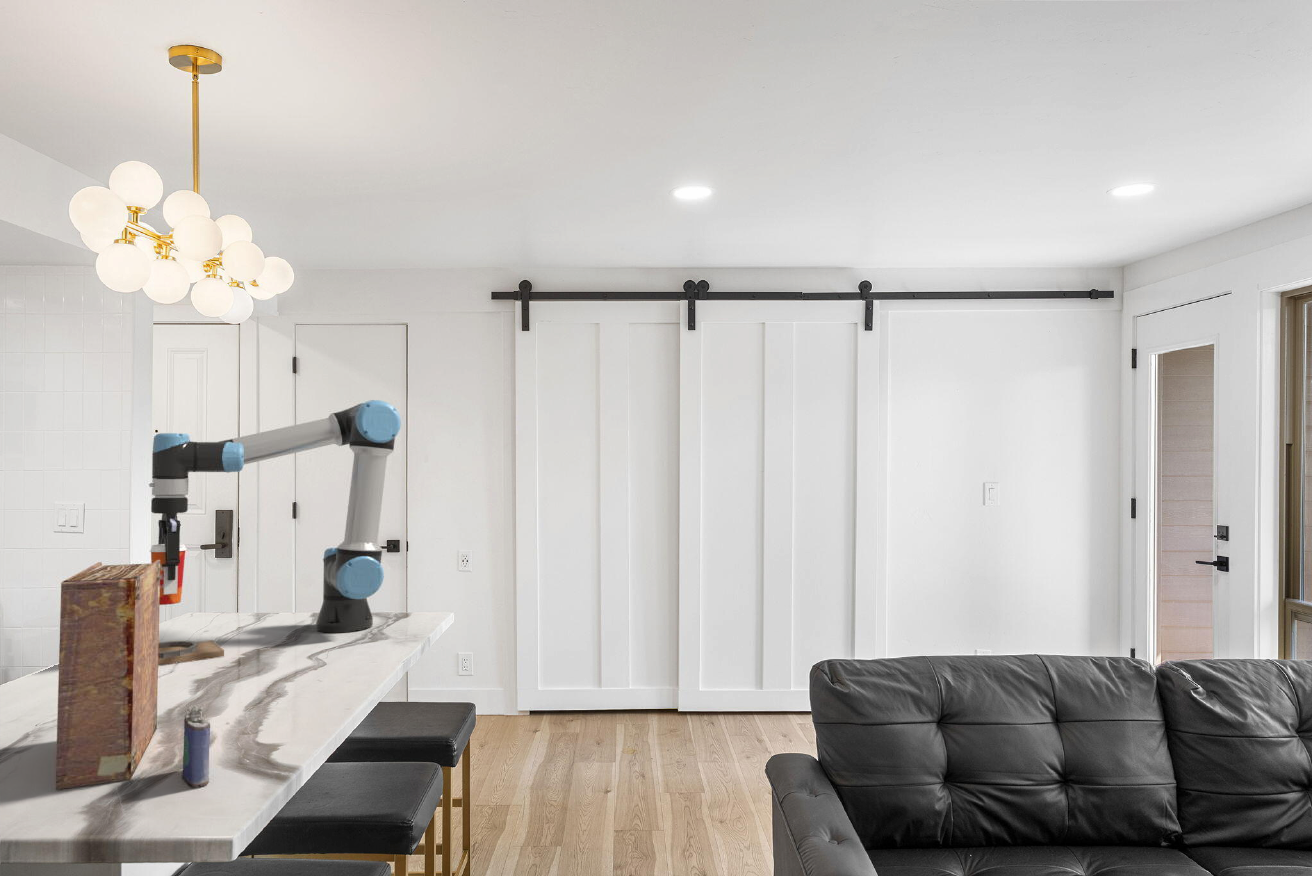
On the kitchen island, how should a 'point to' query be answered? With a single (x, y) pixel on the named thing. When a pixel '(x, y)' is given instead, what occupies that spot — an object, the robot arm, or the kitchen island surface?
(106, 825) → the kitchen island surface
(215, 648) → the seat board
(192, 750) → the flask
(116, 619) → the book
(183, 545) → the paper cup
